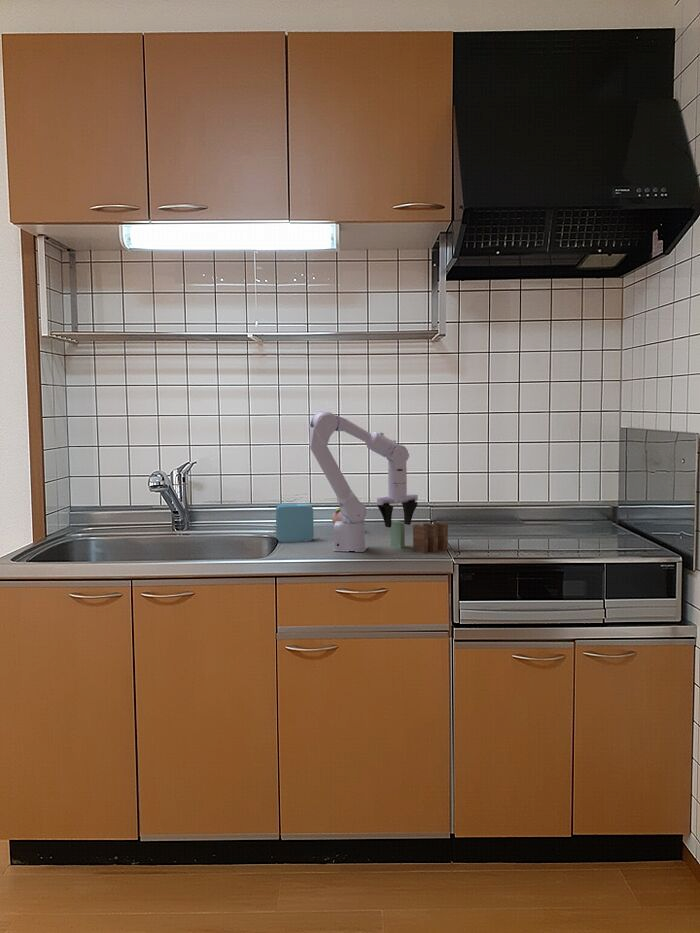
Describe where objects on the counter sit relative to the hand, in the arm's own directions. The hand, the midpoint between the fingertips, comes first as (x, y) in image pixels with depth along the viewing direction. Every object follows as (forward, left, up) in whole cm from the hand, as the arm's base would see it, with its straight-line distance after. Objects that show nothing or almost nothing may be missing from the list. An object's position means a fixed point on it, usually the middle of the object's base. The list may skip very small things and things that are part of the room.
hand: (397, 525), depth 249 cm
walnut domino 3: (+13, -1, -7) cm, 15 cm away
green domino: (0, 0, -7) cm, 7 cm away
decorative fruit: (-21, +22, -7) cm, 31 cm away
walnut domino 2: (+10, -4, -7) cm, 13 cm away
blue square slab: (-35, +6, -7) cm, 36 cm away
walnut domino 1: (+8, -6, -7) cm, 12 cm away
